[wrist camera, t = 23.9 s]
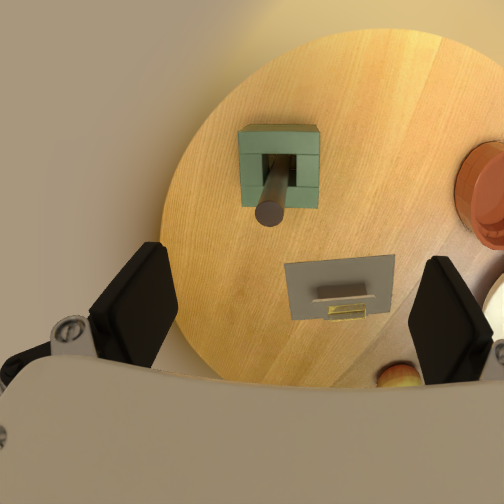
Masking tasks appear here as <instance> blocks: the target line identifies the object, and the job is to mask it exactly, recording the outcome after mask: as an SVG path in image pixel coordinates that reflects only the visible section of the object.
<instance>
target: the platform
mask: <svg viewBox="0 0 504 504" xmlns="http://www.w3.org/2000/svg"><path fill="white" fill-rule="evenodd" d="M394 264H395V254H394V255H383V256H372V257H361V258H349V259H337V260H326V261H313V262H301V263H288V264H284V267H285V274H286V281H287V288H288V295H289V303H290V310H291V318H292V320H305V319H320V318H323V319H324V320H330V321H341V320H343V319H344V320H353V319H364V318H365V316H368V315H369V314H377V313H387V312H390V307H391V298H392V288H393V277H394ZM358 317H360V318H358ZM362 317H364V318H362ZM349 318H353V319H349ZM337 319H341V320H337Z"/></svg>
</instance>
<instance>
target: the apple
mask: <svg viewBox="0 0 504 504" xmlns="http://www.w3.org/2000/svg"><path fill="white" fill-rule="evenodd" d="M405 386H421V378H420V375H419V373H418V372H417V371H416V369H414V368H413V367H411V366H408V365H396V366H393V367H391V368H388V369H387V370H386V371H385V372H383V373H382V375H381V376H380V378H379V380H378V382H377V388H382V387H405Z"/></svg>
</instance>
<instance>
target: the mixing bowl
mask: <svg viewBox="0 0 504 504" xmlns="http://www.w3.org/2000/svg"><path fill="white" fill-rule="evenodd" d="M455 200H456V208H457V211H458V213H459V216H460V219H461V221H462V222H463V223H464V224H465V225H466V227H467V228H468V229H469V230H470V231H471V232H472V233H473V234H474V235H475V236H476V238H477V239H478V240H479V241H480V242H481V243H482V244H483V245H485V246H487V247H488V248H490V249H492V250H504V144H503V143H500V142H489V143H484V144H482V145H481V146H479V147H477V148H476V149H474V150H473V151H472V152H471V153H470V155H469V156H468V157H467V158H466V160H465V161H464V162H463V165H462V167H461V169H460V172H459V174H458V177H457V182H456V188H455Z"/></svg>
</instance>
